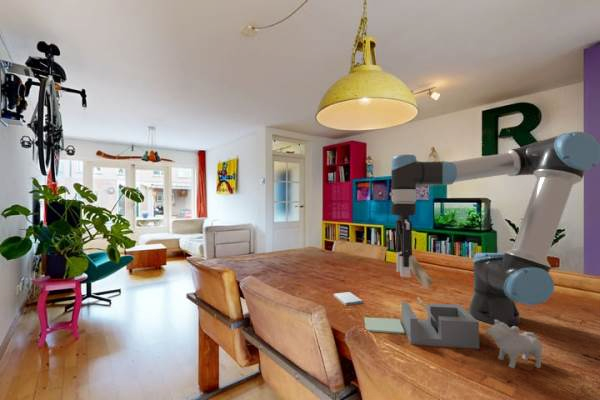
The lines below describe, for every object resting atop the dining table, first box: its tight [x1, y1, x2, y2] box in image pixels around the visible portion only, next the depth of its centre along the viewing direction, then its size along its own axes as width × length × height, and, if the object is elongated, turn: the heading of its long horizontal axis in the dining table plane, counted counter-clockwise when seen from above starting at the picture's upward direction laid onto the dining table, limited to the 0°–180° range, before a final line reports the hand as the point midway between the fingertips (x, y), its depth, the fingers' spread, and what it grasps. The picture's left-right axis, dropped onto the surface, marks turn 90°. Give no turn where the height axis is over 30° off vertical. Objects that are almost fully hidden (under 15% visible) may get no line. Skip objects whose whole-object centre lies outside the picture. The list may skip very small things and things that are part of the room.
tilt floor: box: [416, 296, 438, 325], centre depth 89 cm, size 13×5×1 cm
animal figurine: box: [486, 320, 543, 369], centre depth 74 cm, size 5×13×10 cm, turn 91°
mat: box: [363, 316, 406, 335], centre depth 96 cm, size 12×10×1 cm
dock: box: [401, 301, 480, 350], centre depth 89 cm, size 18×14×8 cm
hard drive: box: [333, 291, 364, 306], centre depth 123 cm, size 2×8×12 cm
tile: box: [399, 251, 434, 289], centre depth 92 cm, size 12×6×3 cm
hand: (403, 274), depth 92 cm, fingers closed on tile, 6 cm apart
